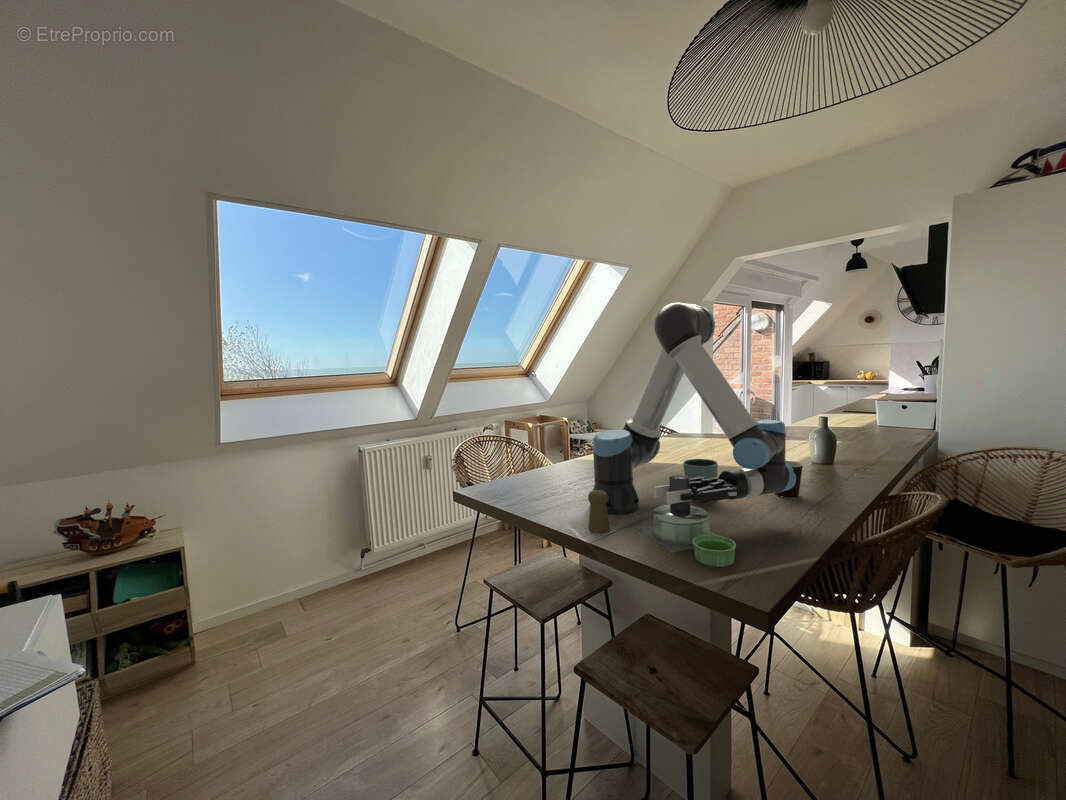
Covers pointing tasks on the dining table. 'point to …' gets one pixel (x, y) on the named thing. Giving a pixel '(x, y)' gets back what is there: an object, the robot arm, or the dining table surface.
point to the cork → (598, 512)
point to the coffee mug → (795, 489)
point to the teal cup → (700, 468)
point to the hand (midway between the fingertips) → (661, 495)
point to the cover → (680, 518)
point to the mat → (670, 547)
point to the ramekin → (714, 550)
